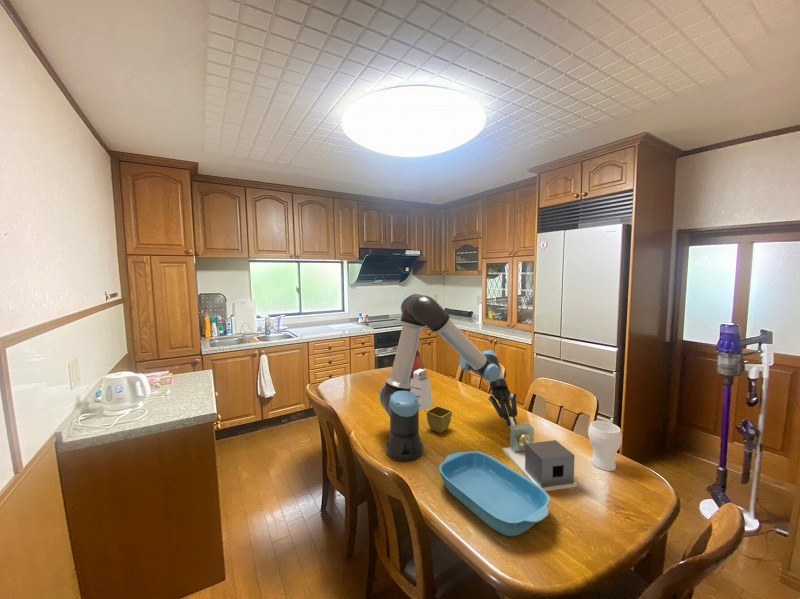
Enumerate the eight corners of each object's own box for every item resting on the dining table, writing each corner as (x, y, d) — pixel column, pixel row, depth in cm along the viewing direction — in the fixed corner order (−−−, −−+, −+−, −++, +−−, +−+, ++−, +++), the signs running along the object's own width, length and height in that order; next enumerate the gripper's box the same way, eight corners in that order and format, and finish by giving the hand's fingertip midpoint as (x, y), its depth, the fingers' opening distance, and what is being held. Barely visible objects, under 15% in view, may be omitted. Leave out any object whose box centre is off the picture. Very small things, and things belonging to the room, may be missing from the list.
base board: (502, 450, 133) (502, 448, 132) (534, 447, 135) (534, 444, 135) (539, 491, 107) (539, 489, 107) (577, 486, 110) (577, 484, 110)
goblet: (430, 394, 194) (429, 353, 192) (401, 400, 186) (400, 357, 183) (414, 384, 211) (414, 347, 209) (387, 389, 203) (387, 350, 201)
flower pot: (452, 429, 151) (452, 410, 150) (441, 436, 144) (441, 417, 144) (437, 423, 157) (437, 405, 156) (425, 430, 150) (425, 411, 150)
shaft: (509, 446, 133) (510, 425, 132) (527, 444, 134) (528, 423, 133) (534, 472, 115) (535, 448, 114) (555, 470, 117) (555, 446, 116)
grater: (406, 407, 177) (406, 371, 175) (417, 400, 185) (417, 366, 183) (423, 411, 170) (422, 374, 169) (433, 405, 179) (433, 369, 177)
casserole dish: (565, 522, 95) (566, 499, 94) (516, 560, 83) (517, 534, 82) (473, 461, 125) (473, 444, 125) (427, 482, 113) (427, 463, 113)
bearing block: (524, 469, 118) (525, 443, 117) (554, 466, 120) (555, 440, 119) (541, 487, 108) (542, 459, 107) (573, 483, 110) (574, 455, 109)
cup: (621, 477, 115) (623, 436, 113) (586, 467, 120) (588, 428, 119) (619, 462, 124) (621, 424, 122) (587, 454, 129) (589, 417, 128)
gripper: (486, 378, 147) (503, 431, 132) (513, 377, 150) (533, 428, 135) (481, 386, 153) (497, 437, 138) (507, 384, 155) (525, 434, 140)
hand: (515, 433), depth 136 cm, fingers closed
